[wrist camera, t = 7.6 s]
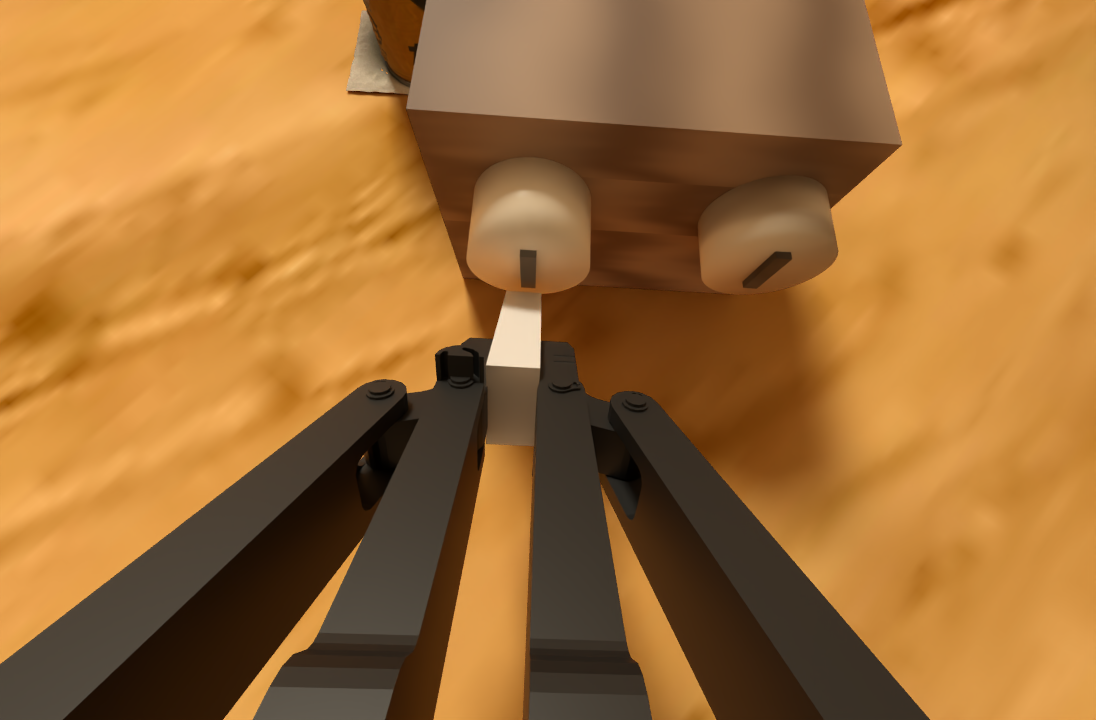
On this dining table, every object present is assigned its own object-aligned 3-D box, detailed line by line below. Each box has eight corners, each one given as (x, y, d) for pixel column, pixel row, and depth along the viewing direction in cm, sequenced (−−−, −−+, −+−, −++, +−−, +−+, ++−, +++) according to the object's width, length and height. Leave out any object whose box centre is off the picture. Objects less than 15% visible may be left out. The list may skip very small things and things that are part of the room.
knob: (586, 52, 22) (602, -59, 18) (581, 303, 18) (599, 242, 13) (501, 46, 22) (493, -68, 17) (474, 296, 18) (454, 233, 13)
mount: (720, 157, 26) (848, -58, 16) (738, 337, 23) (921, 215, 12) (479, 140, 26) (444, -93, 15) (457, 321, 22) (392, 180, 12)
